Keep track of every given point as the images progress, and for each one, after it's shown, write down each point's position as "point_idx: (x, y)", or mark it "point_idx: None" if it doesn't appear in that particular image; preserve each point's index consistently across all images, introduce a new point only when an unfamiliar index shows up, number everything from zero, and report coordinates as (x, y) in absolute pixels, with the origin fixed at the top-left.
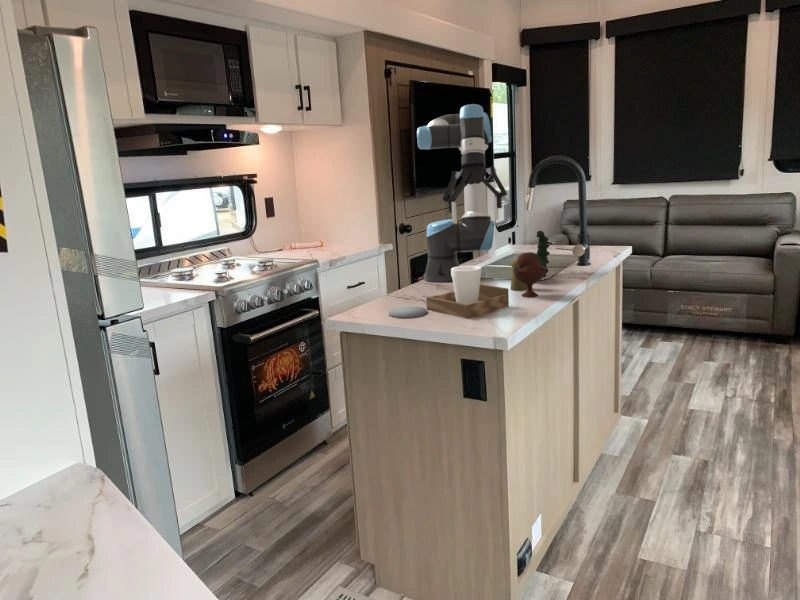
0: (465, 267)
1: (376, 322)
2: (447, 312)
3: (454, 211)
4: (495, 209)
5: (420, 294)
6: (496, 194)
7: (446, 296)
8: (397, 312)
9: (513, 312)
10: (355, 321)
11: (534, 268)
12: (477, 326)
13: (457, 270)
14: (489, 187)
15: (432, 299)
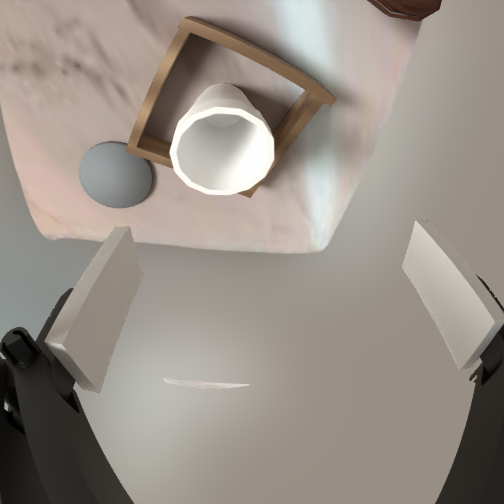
0: (205, 115)
1: (106, 231)
2: None
3: (118, 321)
4: (430, 301)
5: (42, 17)
6: (482, 381)
7: (155, 100)
8: (103, 192)
9: (334, 128)
10: (75, 234)
11: (422, 16)
12: (278, 218)
13: (207, 190)
14: (463, 455)
15: (146, 157)
